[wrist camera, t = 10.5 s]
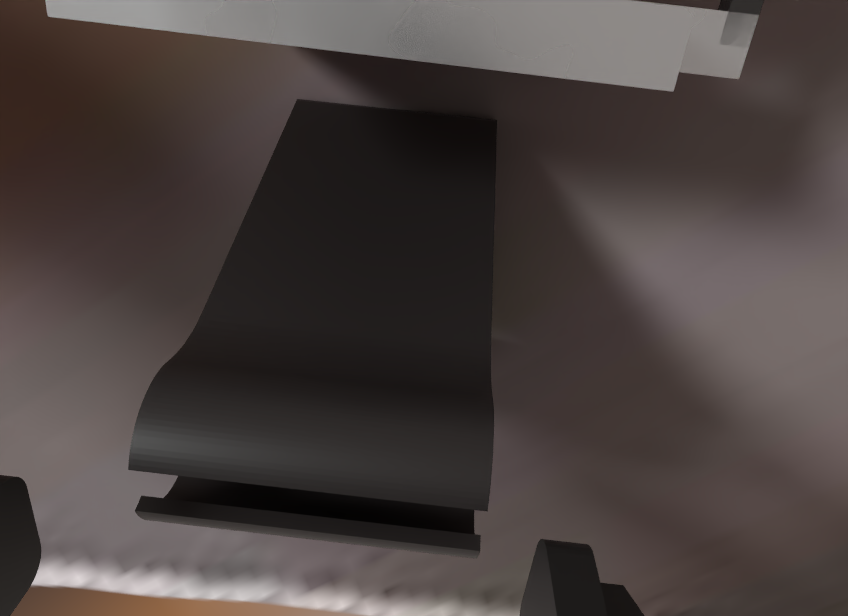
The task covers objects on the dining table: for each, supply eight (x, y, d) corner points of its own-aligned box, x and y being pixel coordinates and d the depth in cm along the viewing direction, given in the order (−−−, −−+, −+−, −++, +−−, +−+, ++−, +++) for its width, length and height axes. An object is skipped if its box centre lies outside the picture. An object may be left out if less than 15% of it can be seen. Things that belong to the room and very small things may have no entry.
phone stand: (300, 95, 19) (92, 240, 9) (498, 118, 19) (532, 291, 9) (298, 350, 23) (155, 658, 13) (460, 369, 23) (453, 695, 13)
